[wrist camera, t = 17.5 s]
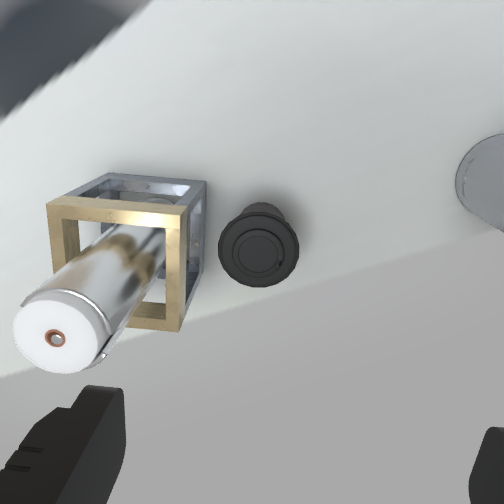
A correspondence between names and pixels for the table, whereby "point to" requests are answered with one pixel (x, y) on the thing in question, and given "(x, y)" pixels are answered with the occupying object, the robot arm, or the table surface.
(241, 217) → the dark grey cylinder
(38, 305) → the silver metal cylinder
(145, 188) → the collar stand
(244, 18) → the table surface
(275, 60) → the table surface
